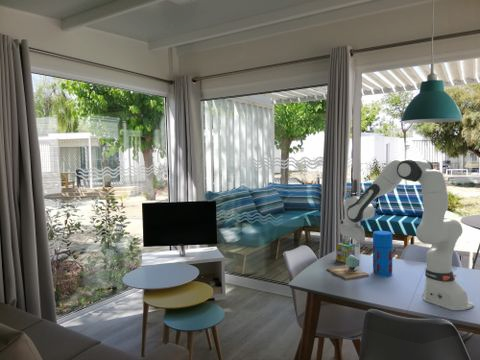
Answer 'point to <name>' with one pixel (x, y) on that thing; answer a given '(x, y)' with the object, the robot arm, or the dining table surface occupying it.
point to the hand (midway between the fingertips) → (352, 245)
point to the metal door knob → (352, 269)
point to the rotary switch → (352, 261)
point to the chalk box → (344, 251)
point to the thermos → (382, 253)
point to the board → (347, 272)
